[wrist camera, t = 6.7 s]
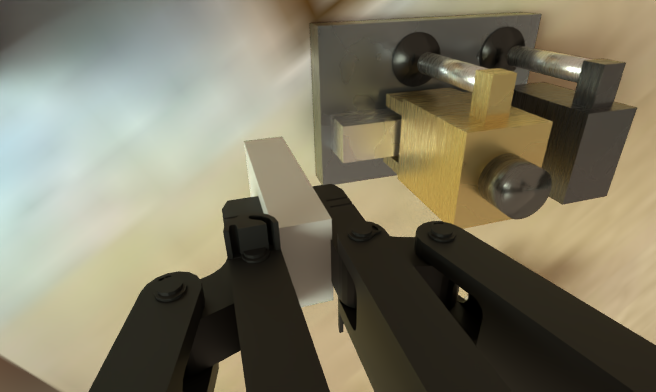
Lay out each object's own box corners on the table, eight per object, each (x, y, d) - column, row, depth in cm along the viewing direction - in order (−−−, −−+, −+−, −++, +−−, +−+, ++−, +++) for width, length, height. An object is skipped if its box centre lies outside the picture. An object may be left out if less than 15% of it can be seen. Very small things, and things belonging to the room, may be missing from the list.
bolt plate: (521, 12, 22) (681, 25, 15) (495, 148, 26) (613, 212, 18) (309, 23, 19) (379, 45, 12) (315, 175, 23) (371, 262, 16)
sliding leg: (455, 48, 20) (599, 82, 13) (442, 156, 22) (555, 233, 15) (388, 53, 19) (502, 92, 12) (382, 164, 21) (473, 250, 14)
